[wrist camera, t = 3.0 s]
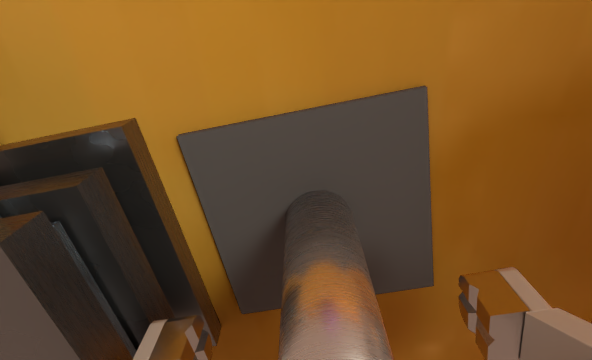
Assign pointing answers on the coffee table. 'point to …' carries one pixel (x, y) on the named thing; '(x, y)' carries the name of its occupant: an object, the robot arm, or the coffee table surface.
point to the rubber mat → (319, 188)
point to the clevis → (90, 248)
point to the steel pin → (327, 286)
